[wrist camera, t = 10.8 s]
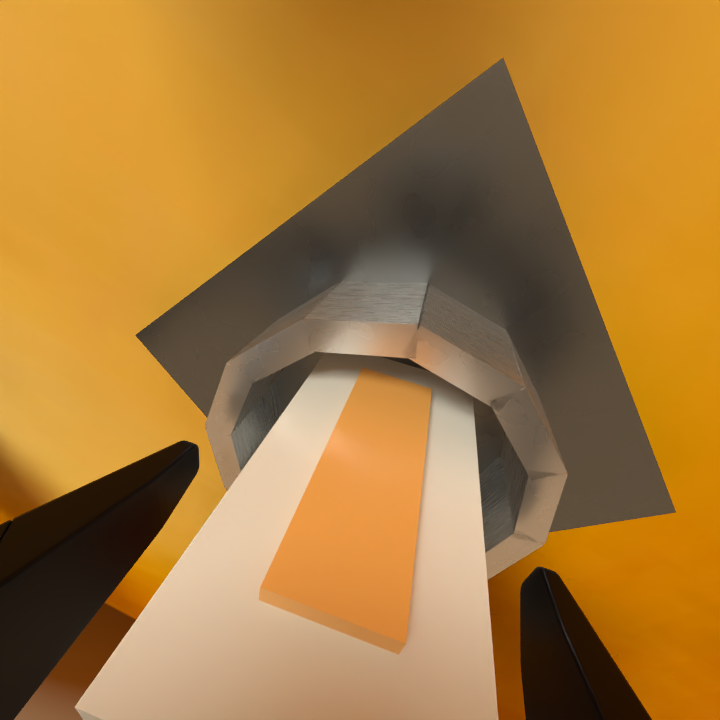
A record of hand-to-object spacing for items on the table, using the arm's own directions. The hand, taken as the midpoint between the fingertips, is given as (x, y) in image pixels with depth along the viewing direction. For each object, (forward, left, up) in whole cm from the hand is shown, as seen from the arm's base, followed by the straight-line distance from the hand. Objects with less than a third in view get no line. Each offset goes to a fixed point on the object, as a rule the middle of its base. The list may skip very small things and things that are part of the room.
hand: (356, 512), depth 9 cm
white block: (0, 0, -4) cm, 4 cm away
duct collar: (0, 0, -5) cm, 5 cm away
